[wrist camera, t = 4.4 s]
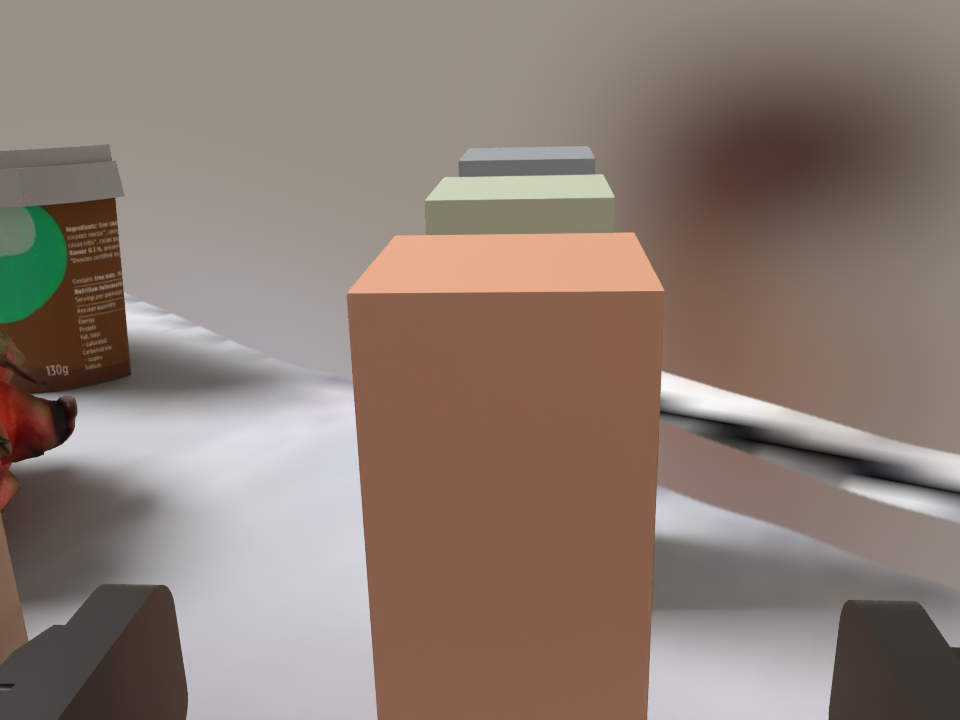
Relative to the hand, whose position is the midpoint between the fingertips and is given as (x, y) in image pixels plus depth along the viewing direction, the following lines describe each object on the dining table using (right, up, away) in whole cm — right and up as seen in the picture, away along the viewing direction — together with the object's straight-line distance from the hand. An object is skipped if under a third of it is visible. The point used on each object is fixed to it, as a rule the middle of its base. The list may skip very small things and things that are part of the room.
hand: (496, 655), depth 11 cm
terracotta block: (0, -5, +6) cm, 7 cm away
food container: (-21, +3, +29) cm, 36 cm away
